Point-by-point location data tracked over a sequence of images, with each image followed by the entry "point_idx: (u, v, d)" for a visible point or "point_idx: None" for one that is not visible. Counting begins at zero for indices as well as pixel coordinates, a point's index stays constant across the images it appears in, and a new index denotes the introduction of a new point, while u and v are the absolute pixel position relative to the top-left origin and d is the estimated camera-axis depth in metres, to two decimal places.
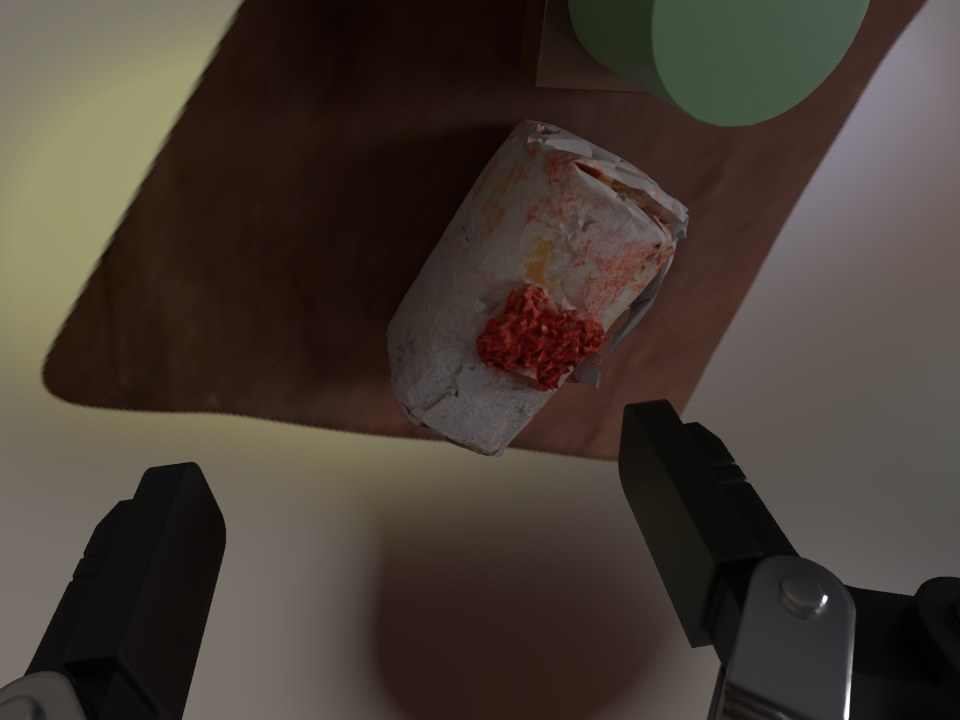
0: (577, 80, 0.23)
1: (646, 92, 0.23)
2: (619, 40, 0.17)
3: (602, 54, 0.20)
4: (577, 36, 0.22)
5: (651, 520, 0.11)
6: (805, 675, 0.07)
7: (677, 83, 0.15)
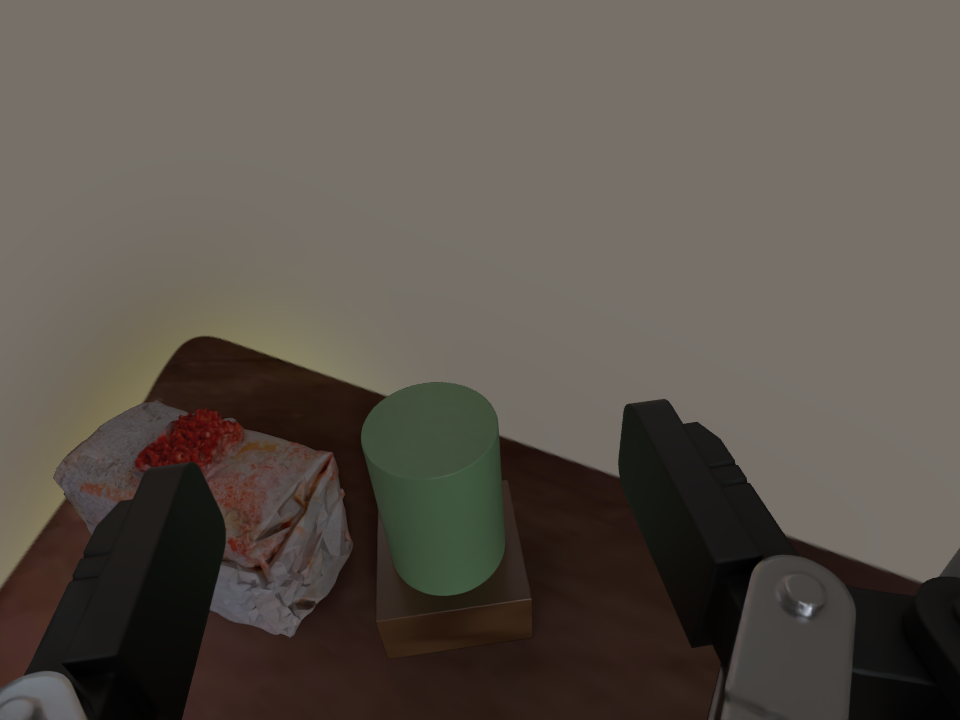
0: None
1: (377, 569, 0.28)
2: None
3: None
4: None
5: (651, 520, 0.11)
6: (805, 675, 0.07)
7: (385, 403, 0.26)
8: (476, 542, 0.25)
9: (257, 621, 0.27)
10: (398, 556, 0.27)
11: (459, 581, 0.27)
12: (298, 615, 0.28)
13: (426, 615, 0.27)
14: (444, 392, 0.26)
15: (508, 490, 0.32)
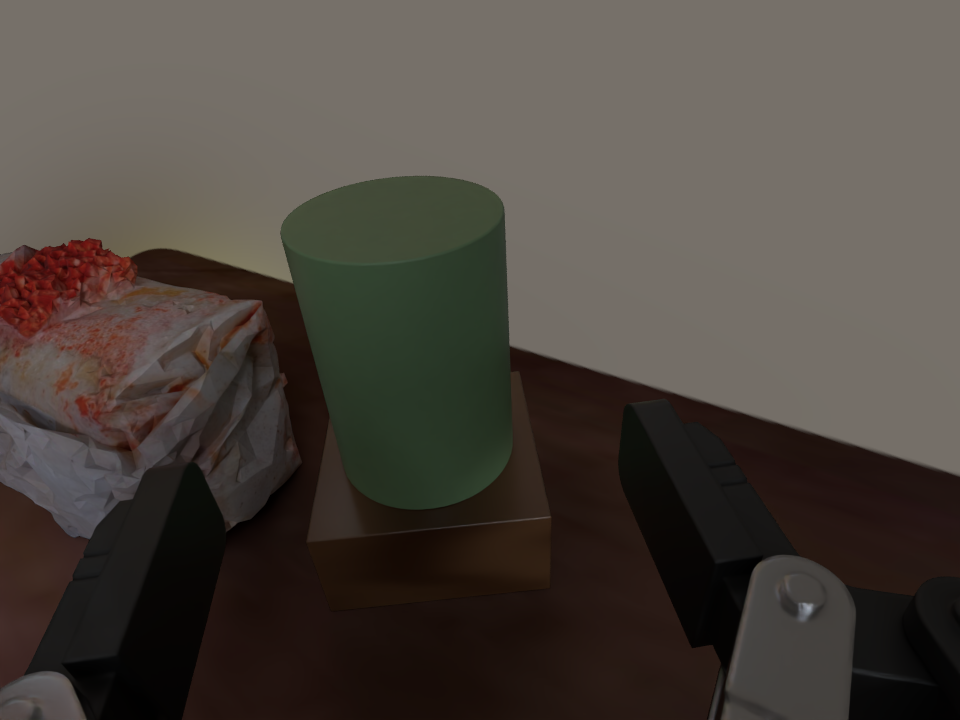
0: None
1: (319, 474, 0.19)
2: None
3: None
4: None
5: (651, 520, 0.11)
6: (805, 676, 0.07)
7: (330, 194, 0.16)
8: (464, 414, 0.16)
9: None
10: (345, 441, 0.17)
11: (439, 484, 0.17)
12: None
13: (385, 536, 0.17)
14: (423, 183, 0.17)
15: (519, 383, 0.22)
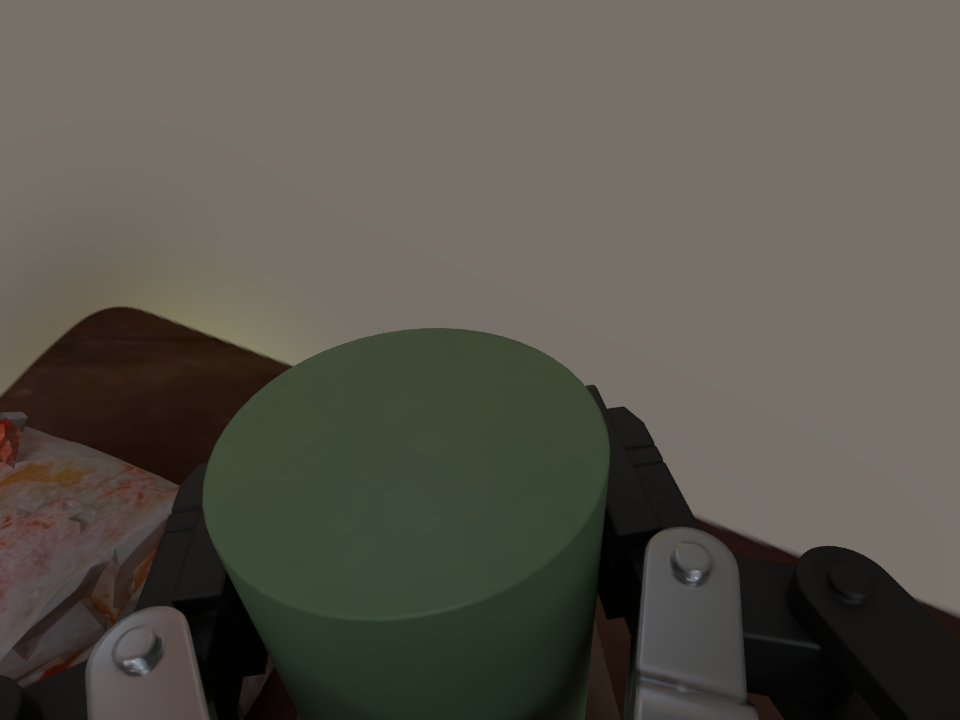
0: None
1: None
2: None
3: None
4: None
5: None
6: (704, 638, 0.07)
7: (301, 373, 0.10)
8: None
9: None
10: None
11: None
12: None
13: None
14: (455, 350, 0.10)
15: None
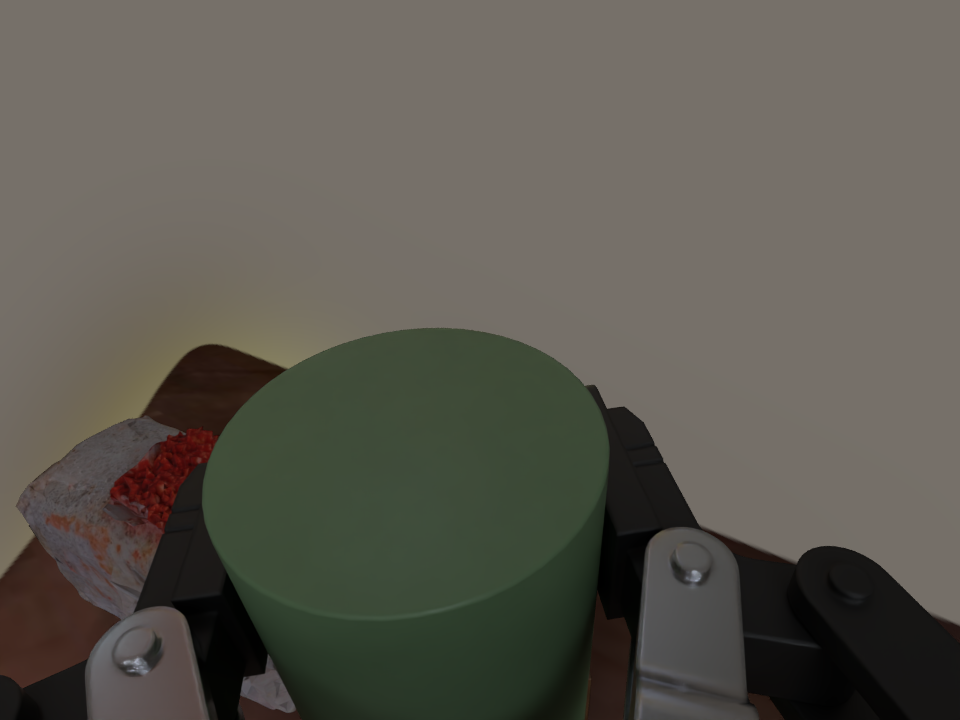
0: None
1: None
2: None
3: None
4: None
5: None
6: (704, 639, 0.07)
7: (301, 373, 0.10)
8: None
9: (249, 693, 0.22)
10: None
11: None
12: None
13: None
14: (455, 350, 0.10)
15: None
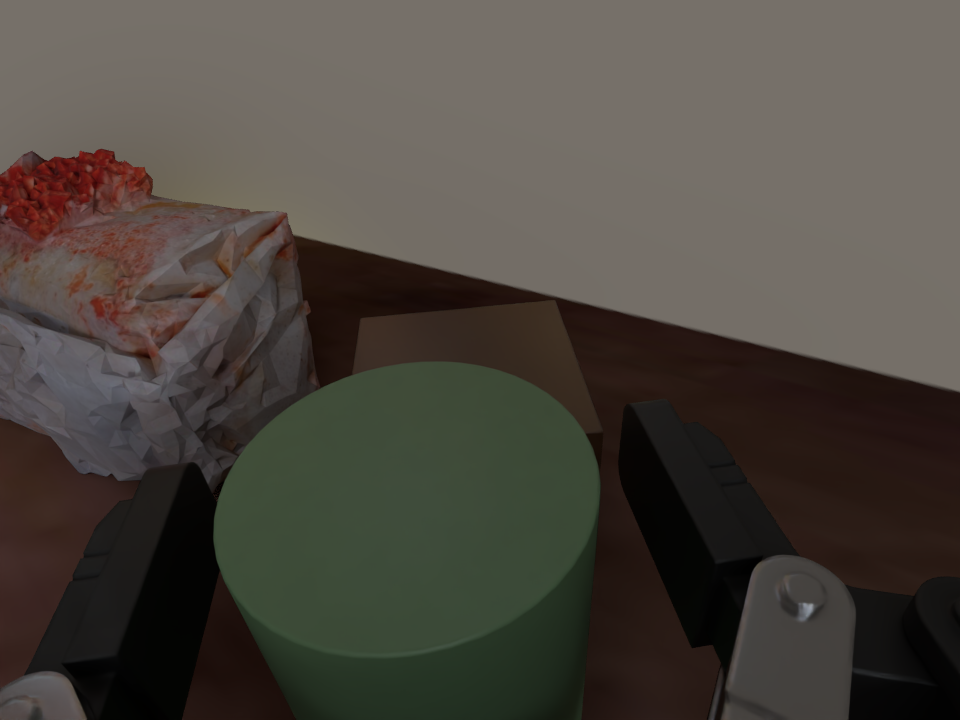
0: (365, 341, 0.20)
1: None
2: None
3: None
4: None
5: (651, 520, 0.11)
6: (805, 675, 0.07)
7: (306, 408, 0.10)
8: None
9: (147, 461, 0.17)
10: None
11: None
12: (217, 458, 0.17)
13: None
14: (453, 384, 0.11)
15: (557, 310, 0.21)
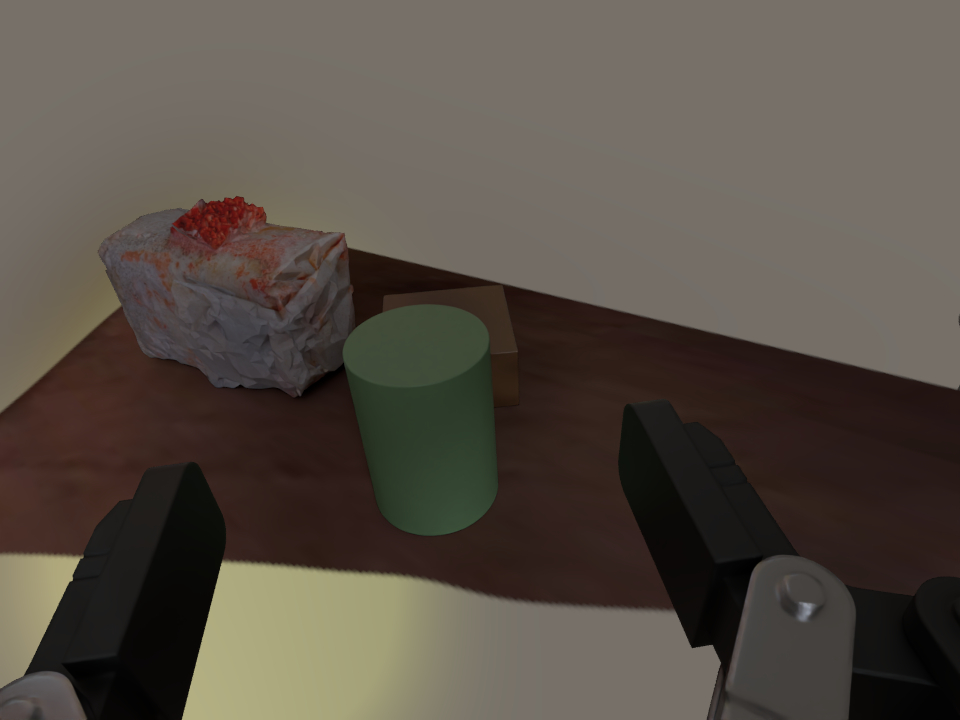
0: (388, 308, 0.34)
1: None
2: None
3: None
4: None
5: (651, 520, 0.11)
6: (805, 675, 0.07)
7: (372, 321, 0.24)
8: (463, 472, 0.24)
9: (271, 369, 0.30)
10: (381, 489, 0.25)
11: (446, 518, 0.25)
12: (308, 368, 0.31)
13: None
14: (435, 312, 0.24)
15: (502, 290, 0.35)
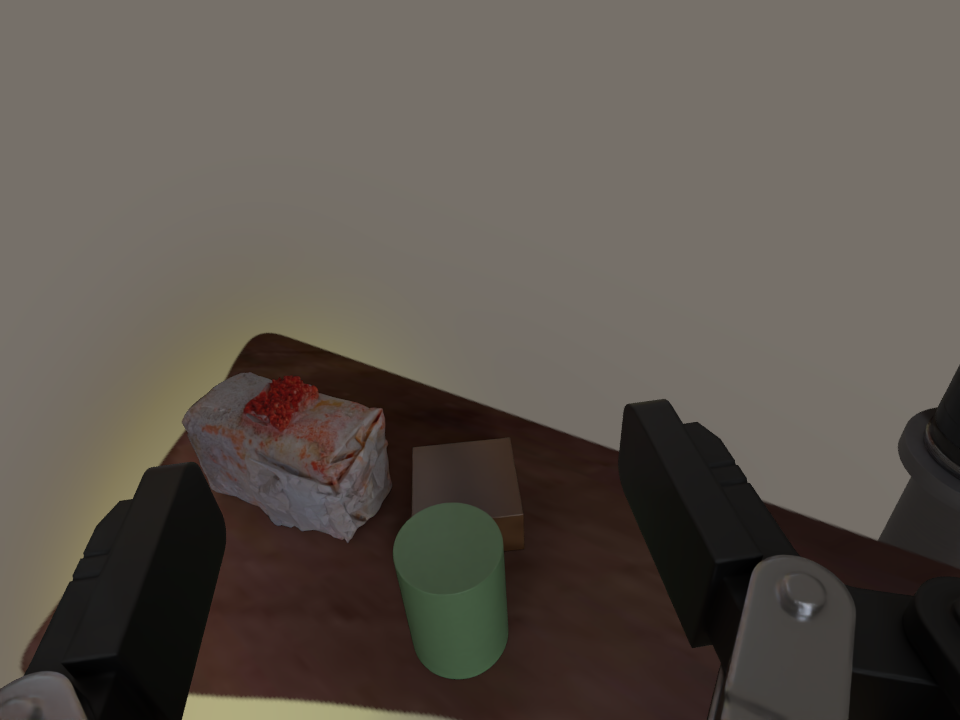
0: (416, 462, 0.41)
1: (412, 494, 0.39)
2: None
3: None
4: None
5: (651, 520, 0.11)
6: (805, 675, 0.07)
7: (413, 521, 0.32)
8: (483, 639, 0.31)
9: (326, 525, 0.38)
10: (419, 645, 0.32)
11: (469, 668, 0.32)
12: (355, 523, 0.38)
13: None
14: (460, 513, 0.32)
15: (510, 444, 0.42)
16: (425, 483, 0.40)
